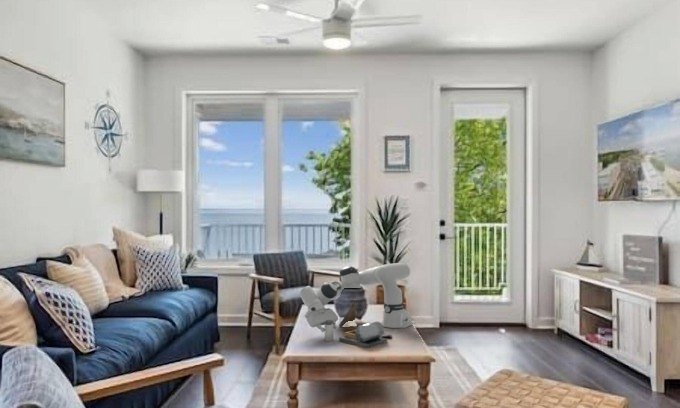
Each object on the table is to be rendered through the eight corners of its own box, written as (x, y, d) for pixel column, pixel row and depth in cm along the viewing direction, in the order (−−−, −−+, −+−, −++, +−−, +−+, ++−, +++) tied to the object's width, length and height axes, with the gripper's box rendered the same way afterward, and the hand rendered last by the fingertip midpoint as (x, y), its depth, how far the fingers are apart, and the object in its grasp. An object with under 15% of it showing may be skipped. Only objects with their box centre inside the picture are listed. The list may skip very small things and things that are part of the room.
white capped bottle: (329, 338, 334) (328, 319, 334) (335, 339, 331) (335, 320, 331) (322, 340, 331) (322, 320, 331) (329, 341, 327) (328, 322, 327)
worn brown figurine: (356, 328, 368) (361, 300, 368) (357, 330, 362) (363, 302, 363) (338, 325, 366) (343, 297, 366) (339, 327, 360) (345, 299, 361)
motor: (360, 335, 341) (360, 316, 341) (389, 341, 326) (389, 322, 325) (339, 341, 328) (338, 321, 328) (368, 348, 313) (368, 327, 313)
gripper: (327, 310, 346) (339, 329, 339) (302, 316, 331) (314, 336, 325) (332, 304, 343) (345, 323, 336) (307, 309, 328) (319, 329, 321)
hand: (329, 329), depth 330 cm, fingers open, 8 cm apart
